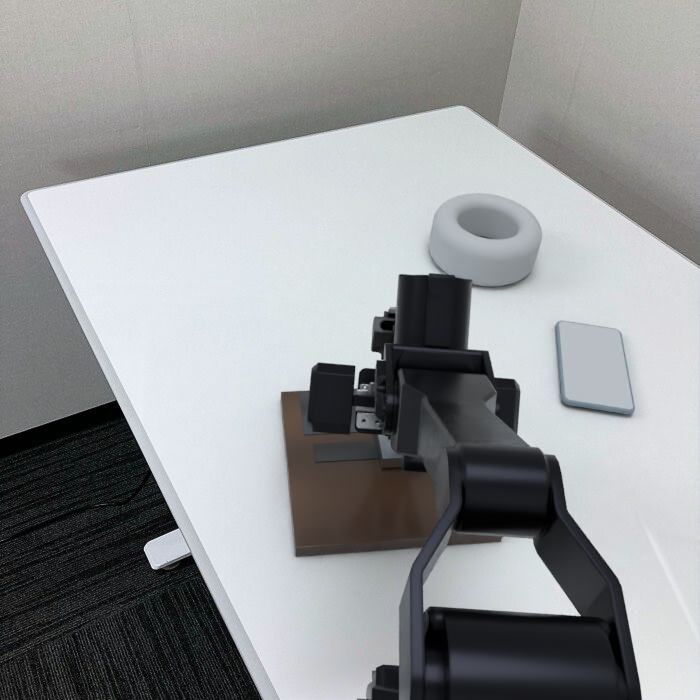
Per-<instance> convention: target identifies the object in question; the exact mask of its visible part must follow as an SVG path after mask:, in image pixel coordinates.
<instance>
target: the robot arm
mask: <svg viewBox="0 0 700 700" xmlns="http://www.w3.org/2000/svg"><path fill="white" fill-rule="evenodd" d="M472 291H473V284H472V280H471V279H463V278H457V277H455V275H449V274H447V273H446V274H445V273H433V272H429V273H427V274H404V273H399V274H398V277H397V291H396V306H395V307H396V310H393V309H390V308H389V309H388V310H387V311H386V310H384V311H383V316H376V315H375V316H374V317H373V320H372V330H371V345H370V351H371V352H372V353H378V354H380V359H376V362H375V368H372V367H371V368H370V367H364V368H362V369H360V370H359V373H358V379H357V388H358V389H357V388H356V389H357V391H356V395H354V389H355V382H356V367H357V366H356V365H353V364H352V365H351V364H341V363H330V362H329V363H328V362H319V361H318V362H317V363H316V364H314V365H313V366H312V368H310V380H309V381H310V382H309V390H308V391H309V402H308V414H307V426H308V427H309V428H310V429H311V431H312V432H321V433H333V434H345V435H350V428H351V418H352V406H355V411H356V413H355V430H356V431H357V432H359V433H364V434H376V435H385V436H388V440H390V443H391V448H392V450H393V451H394V452H396V453H397V454H399V455H403V456H402V471H404V472H415V473H428V475H429V477H430V479H431V481H432V483H433V486H434V488H435V490H436V527H435V528H434V530H433V531H432V533H431V535H430V536H429V538H428V540H427V541H426V543H425V544H424V546H423V547H421V548H420V550H419V552H418V554H417V555H416V558H415V559H414V560H413V562H412V564H411V567H410V571H409V574H408V576H407V579H406V583H405V586H404V589H403V592H402V595H401V598H400V602H399V606H398V665H397V664H380V665H378V666H377V667H375V670H372V671H371V681H370V682H369V683H368V684H367V686H366V691H365V698H360V697H359V698H356V700H643V696H642V688H641V681H640V675H639V670H638V664H637V659H636V655H635V654H636V653H635V649H634V644H633V638H632V633H631V628H630V623H629V618H628V612H627V607H626V602H625V601H626V600H625V595H624V591H623V587H622V584H621V582H620V580H619V577H618V576H617V575H616V574H615V572H614V570H613V569H612V568H611V567H610V566H609V564H608V562H607V561H606V560H605V558H603V556H602V555H601V554H600V552H599V551H598V549H597V548H596V547H595V546H594V544H593V543H592V541H591V540H590V538H588V536H587V534H585V532H584V531H583V529H582V528H581V526H580V525H579V524H578V523H577V522H576V520H575V519H574V517H573V516H572V515H571V513H570V512H569V510H568V506H567V499H566V493H565V492H566V491H565V486H564V481H563V480H564V479H563V473H562V469H561V465H560V461H559V460H558V459H557V456H556V455H555V454H550V453H549V454H548V453H544V451H542V449H541V448H540V447H538V446H531V445H529V443H527V442H526V441H525V440H524V439H523V438H522V437H521V436H520V435H518V433H519V432H518V431H519V418H520V405H521V404H520V403H521V393H522V391H521V386H520V384H519V383H518V382H517V380H516V379H515V378H508V377H507V378H506V377H495V374H494V369H493V365H492V360H491V356H490V352H489V350H483V349H472V348H471V349H470V348H469V336H470V322H471V321H470V320H471V309H472V308H471V307H472ZM364 388H366V389H364ZM452 530H453V531H454V532H455V533H456V534H470V535H485V536H500V537H502V538H515V539H516V538H518V539H530V540H531V539H532V544H533V547H534V549H535V552H536V554H537V555H538V557H539V558H540V560H541V561H542V563H543V564H544V566H545V568H547V570H548V571H549V573H550V575H551V576H552V577H553V578H554V580H555V581H556V583H557V584H558V585H559V587H560V589H561V590H562V591H563V593H564V594H565V596H566V598H568V601H570V603H571V604H572V605H573V607H574V608H575V610H576V611H577V613H578V614H579V615H572V614H571V615H570V614H555V613H539V612H525V611H511V610H510V611H509V610H493V609H480V608H479V609H478V608H465V607H463V608H462V607H451V606H435V605H434V606H433V605H431V606H428V607H427V608H426V609H425V608H424V585H425V584H426V582H427V580H428V579H429V576H430V575H431V573H432V572H433V570H434V568H435V566H436V565H437V563H438V561H439V560H440V558H441V556H442V555H443V554H444V551H445V549H446V548H447V546H448V545H447V543H448V541H449V538H450V535H451V533H452Z"/></svg>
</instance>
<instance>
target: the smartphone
mask: <svg viewBox="0 0 700 700" xmlns="http://www.w3.org/2000/svg"><path fill="white" fill-rule="evenodd" d="M555 335H556V346H557V359H558V370H559V372H558V373H559V382H560V383H559V384H560V395H561V401H562V402H563V403H564V404H565V405H567V406H573V407H579V408H584V409H585V408H586V409H593V410H599V411H604V412H610V413H617V414H624V415H632V414H633V413H634V412H635V410H636V405H635V400H634V395H633V389H632V384H631V378H630V373H629V367H628V361H627V357H626V356H627V355H626V351H625V345H624V339H623V333H622V332H621V330H619V329H617V328H615V327H614V328H613V327H608V326H601V325H594V324H588V323H582V322H575V321H568V320H558V321H557V322H556V323H555Z"/></svg>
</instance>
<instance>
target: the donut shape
mask: <svg viewBox="0 0 700 700" xmlns="http://www.w3.org/2000/svg"><path fill="white" fill-rule="evenodd" d="M542 239H543V231H542V227H541V224H540V222H539V220H538V218H537V217H536V216H535V215H534V213H533V212H532V211H530V210H529V209H528V208H527V207H525V206H524V205H522V204H521V203H519V202H517V201H515V200H513V199H511V198H508V197H505V196H502V195H497V194H492V193H484V192H480V193H479V192H473V193H465V194H460V195H456V196H454V197H450V198H449V199H447V200H446V201H444V202H443V203H442V204H441V205H440V206H438V208H437V209H436V211H435V212H434V215H433V218H432V224H431V229H430V235H429V241H428V250H429V254H430V257H431V258H432V260H433V261H434V263H435V264H436V265H437V267H439V268H440V269H441V270H442V271H443V272H445V273H446V274H448V275H455V277H457V278H463V279H471V280H472V285H474V286H480V287H503V286H509V285H512V284H515V283H517V282H520V281H521V280H523V279H524V278H526V277H527V276H528V275H530V273H531V272H532V270H533V268H534V267H535V265H536V260H537V257H538V254H539V250H540V248H541V244H542V241H543V240H542Z"/></svg>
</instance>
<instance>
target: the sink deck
mask: <svg viewBox="0 0 700 700" xmlns="http://www.w3.org/2000/svg"><path fill="white" fill-rule="evenodd" d="M357 389H358V387H357V388H354V395H356V391H357ZM364 389H366V387H364ZM309 391H310V390H295V391H294V390H293V391H292V390H291V391H288V390H287V391H281V392H280V408H281V409H280V410H281V418H282V428H283V429H282V430H283V437H284V438H283V439H284V440H283V441H284V451H285V462H286V472H287V483H288V484H287V485H288V493H289V495H288V496H289V505H290V514H291V515H290V516H291V524H292V525H291V526H292V537H293V546H294V547H293V548H294V549H293V550H294V556H295V557H296V558H297V557H310V556H324V555H335V554H336V555H337V554H349V553H351V554H352V553H363V552H376V551H389V550H400V549H401V550H403V549H413V548H415V549H417V548H423V546H424V544H425V543H426V541H427V540H428V538H429V536H430V535H431V533H432V531H433V530H434V528H435V527H436V490H435V488H434V486H433V483H432V481H431V479H430V477H429V475H428V473H415V472H404V471H402V467H394V468H381V463H380V458H379V454H378V449H377V444H376V439H375V434H364V433H359V432H357V431H356V430H355V413H356V411H355V406H352V418H351V428H350V435H345V434H333V433H321V432H312V431H311V429H310V428H309V427H308V426H307V414H308V402H309ZM502 539H503V537H500V536H485V535H470V534H456V533H455V532H454V531H453V530H452V533H451V535H450V538H449V541H448V543H447V546H456V545H458V546H459V545H468V544H469V545H470V544H481V543H494V542H502V541H503V540H502Z"/></svg>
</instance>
